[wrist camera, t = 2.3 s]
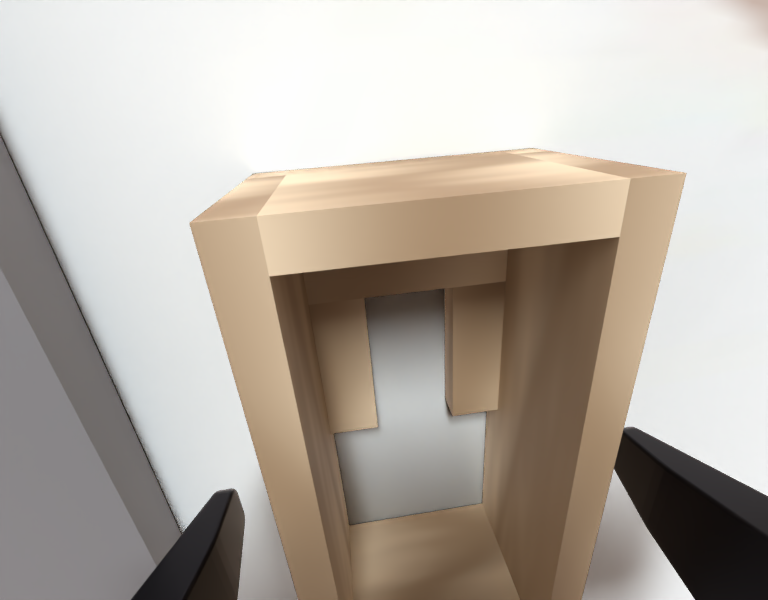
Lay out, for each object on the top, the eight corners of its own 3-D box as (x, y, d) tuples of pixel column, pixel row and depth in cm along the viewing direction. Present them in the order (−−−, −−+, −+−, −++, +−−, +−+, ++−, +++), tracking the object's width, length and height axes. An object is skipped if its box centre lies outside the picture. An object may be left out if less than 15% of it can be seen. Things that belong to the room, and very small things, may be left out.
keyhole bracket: (532, 148, 9) (686, 173, 5) (502, 514, 15) (565, 662, 11) (252, 173, 9) (189, 222, 5) (329, 543, 14) (330, 710, 10)
